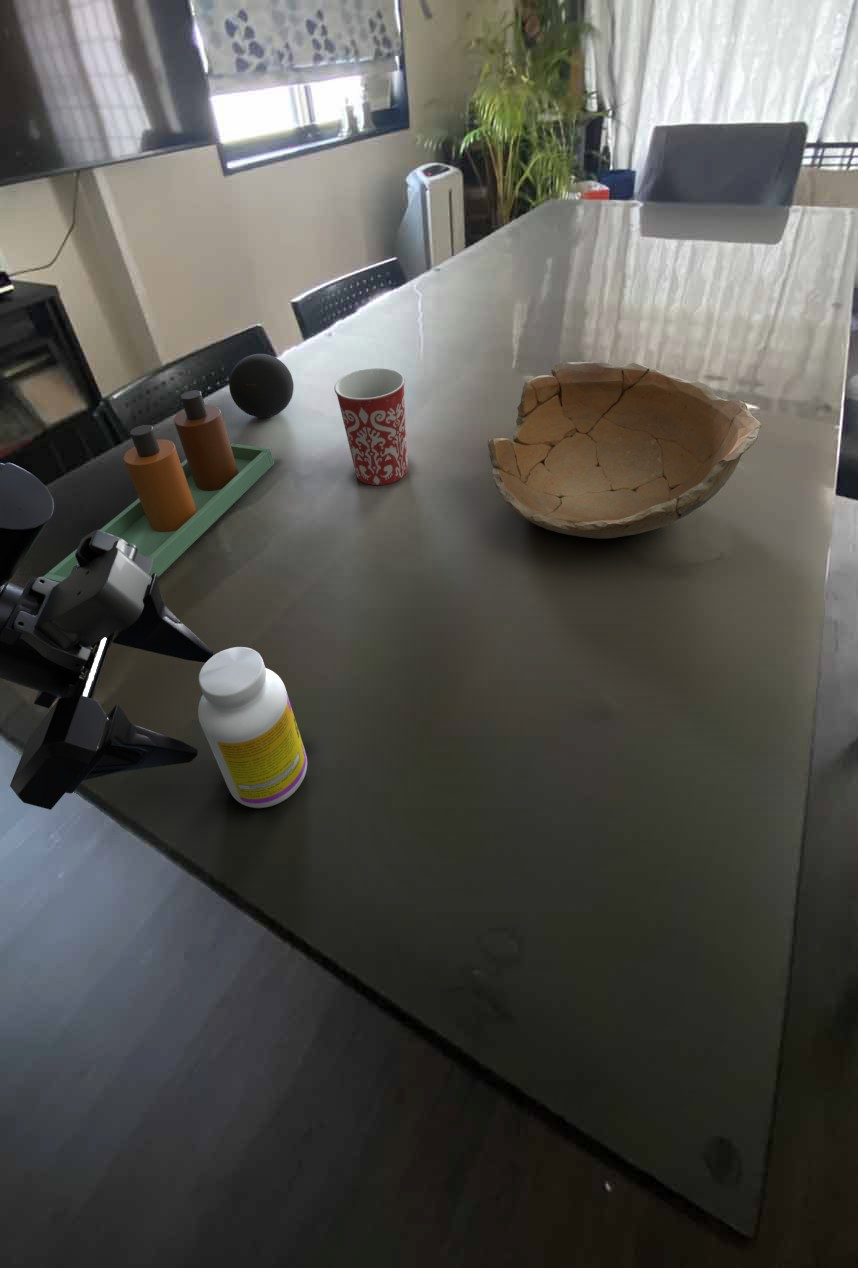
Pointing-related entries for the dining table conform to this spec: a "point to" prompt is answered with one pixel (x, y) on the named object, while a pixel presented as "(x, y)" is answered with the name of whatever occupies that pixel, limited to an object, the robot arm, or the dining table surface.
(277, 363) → the speaker
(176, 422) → the dark amber bottle
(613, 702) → the dining table surface
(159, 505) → the amber bottle
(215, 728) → the supplement bottle
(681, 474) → the ceramic bowl
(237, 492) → the tray
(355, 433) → the mug
